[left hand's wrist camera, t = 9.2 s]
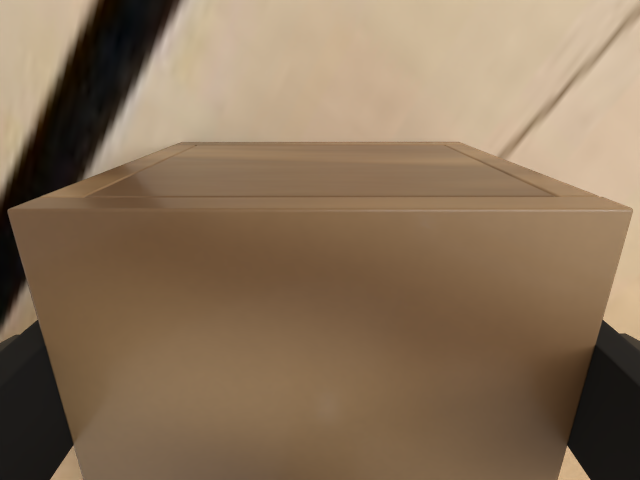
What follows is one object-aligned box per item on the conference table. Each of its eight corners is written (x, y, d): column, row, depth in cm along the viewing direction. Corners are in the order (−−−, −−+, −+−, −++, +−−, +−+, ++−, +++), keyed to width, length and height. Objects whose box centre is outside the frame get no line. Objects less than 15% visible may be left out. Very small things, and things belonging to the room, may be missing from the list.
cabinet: (417, 503, 23) (478, 763, 14) (223, 503, 23) (163, 763, 14) (460, 141, 16) (635, 208, 7) (180, 142, 16) (4, 209, 7)
